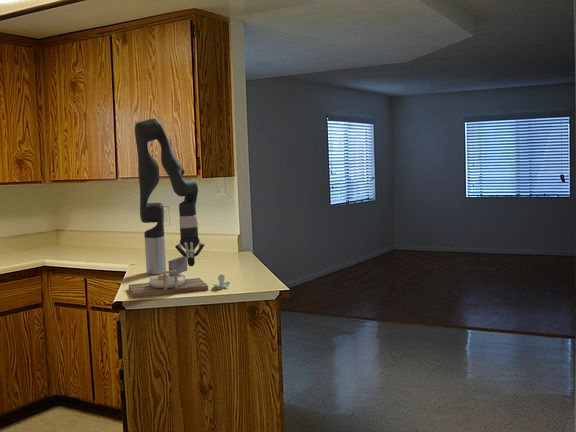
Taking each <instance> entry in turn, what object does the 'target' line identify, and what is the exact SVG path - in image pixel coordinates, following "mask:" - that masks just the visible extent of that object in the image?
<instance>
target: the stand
mask: <svg viewBox="0 0 576 432" xmlns="http://www.w3.org/2000/svg"><path fill="white" fill-rule="evenodd" d="M171 273H174V280H175V287H172V288H167V281H166V274H171ZM162 275H163V281H164V288H153V287H150V282H142V283H133V284H128V291H129V292H130V294H132V295H131V296H133V297H132V299H137V297H139V298H146V297H149V298H150V297H158V296H167V295H175V294H176V295H178V294H186V293H195V292H196V293H197V292H206V291H209V285H208V284H207V283H205V281H204V280H202V279H201V278H200V277H195V278H185V284H184V285H182V286H178V280H177V270H175V271H169V270H166V271H164V272H163V273H162Z"/></svg>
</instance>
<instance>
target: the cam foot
mask: <svg viewBox="0 0 576 432" xmlns="http://www.w3.org/2000/svg"><path fill="white" fill-rule="evenodd" d="M167 264H168V271H175V270H177V280H178V286H182V285H184V284H185V279H186V275H185V274H183V273H185V272H186V271H188V262H187V257H184V256H182V255H181V256H180V257H176V258H174V259H171V260H168V263H167ZM166 281H167V288H172V287H175V280H174V273H171V274H166ZM149 283H150V287H153V288H164V281H163V274H156V275H153V276H151V277H150V278H149Z"/></svg>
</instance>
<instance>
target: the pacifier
mask: <svg viewBox="0 0 576 432" xmlns="http://www.w3.org/2000/svg"><path fill="white" fill-rule="evenodd" d="M225 277H226V276H225V274H223V273H221V274H219V276H218V277H217V280H218V282H219V283H218V284H213V286H212V287H211V288H212V289H214V290H216V289H217V290H223V289H226V288H227V287H229V286H230V285H231V282H230V281H224V280H225Z"/></svg>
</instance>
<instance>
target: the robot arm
mask: <svg viewBox="0 0 576 432" xmlns="http://www.w3.org/2000/svg"><path fill="white" fill-rule="evenodd" d="M134 136H135V143H136V150H137V164H138V165H137V167H138V168H137V171H138V185H139V217H140V221H141V222H142V223H146V224H149V223H156V225H155V226H153V227H152V228H149V229H147V230H145V231H144V233H143V234H144V250H145V268H146V269H145V271H146V274H147V275H163V272H164V271H167V261H166V260H167V259H166V241H165V227H164V226H165V225H164V223H165V222H164V221H165V220H164V216H165V213H164V210H165V209H164V205H163V203H162V202H149V198H150V196H151V195H152V194H153V191H154V190H155V189H156V188H157V186H158V184H159V182H160V166H159V164H158V162H157V161H156V159H155V158H154V157H153V156H152V154H151V153H150V152H149V146H148V144H149V143H150V142H152V141H157V142H158V143H159V145H160V161H161V166H162V167H163V169H164V171H165V172H166V174H167V176H168V177H169V181H170V184H171V187H172V190H173V192H174V193H175V195H177V196H179V197H183V201H181V202H179V204H178V212H179V214H178V215H179V235H180V238H179V239H180V240H179V243H177V244H176V245H175V249H176V250H177V252H179V253H180V254H181V257H182V256H184V257H187V266H189V267H194V265H195V263H196V262H195V261H196V260H195V257H197V256H199V254H200V253H201V252H202V250H203V249H204V247H205V245H206V244H205V243H203V242H201V241H200V238H199V231H198V230H199V228H198V227H199V226H198V225H199V223H198V218H197V208H196V204H197V200H198V199H197V198H198V194H199V193H198V192H199V187H198V183H197V182H196V181H195V179H192V178H189V179H188V178H187V179H184V178H183V176H184V174H185V169H184V167H183V166H182V164H181V162H180V161H179V159H178V158H177V156H176V154H175V152H174V151H173V149H172V146H171V143H170V141H169V139H168V137H167V134H166V132H165V130H164V128H163V126H162V123H161V122H160V121H159V120H158V119H156V118H149V119H146V120H141V121H139V122H137V123H136V124H135V125H134ZM197 247H198V249H197V250H196V248H197ZM183 248H184V249H185V250H184V249H183Z"/></svg>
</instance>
